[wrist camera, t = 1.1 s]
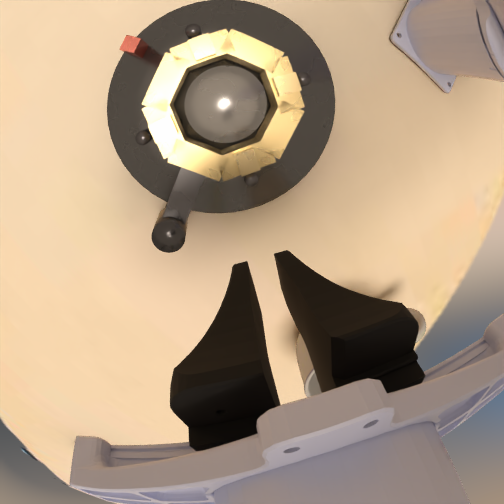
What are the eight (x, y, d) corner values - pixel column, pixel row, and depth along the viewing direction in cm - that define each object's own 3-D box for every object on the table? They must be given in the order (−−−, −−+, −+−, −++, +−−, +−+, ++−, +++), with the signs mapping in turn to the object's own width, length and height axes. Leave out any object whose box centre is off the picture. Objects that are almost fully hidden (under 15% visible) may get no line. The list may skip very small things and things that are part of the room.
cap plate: (170, -20, 12) (161, -50, 8) (360, 67, 18) (398, 63, 13) (86, 168, 19) (56, 189, 14) (270, 234, 24) (285, 268, 19)
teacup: (298, 365, 34) (315, 417, 27) (274, 308, 28) (294, 372, 21) (396, 323, 33) (426, 367, 26) (396, 258, 28) (440, 305, 21)
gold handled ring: (189, 22, 14) (186, 9, 11) (312, 76, 17) (329, 73, 14) (112, 211, 19) (99, 229, 17) (224, 250, 23) (226, 272, 20)
